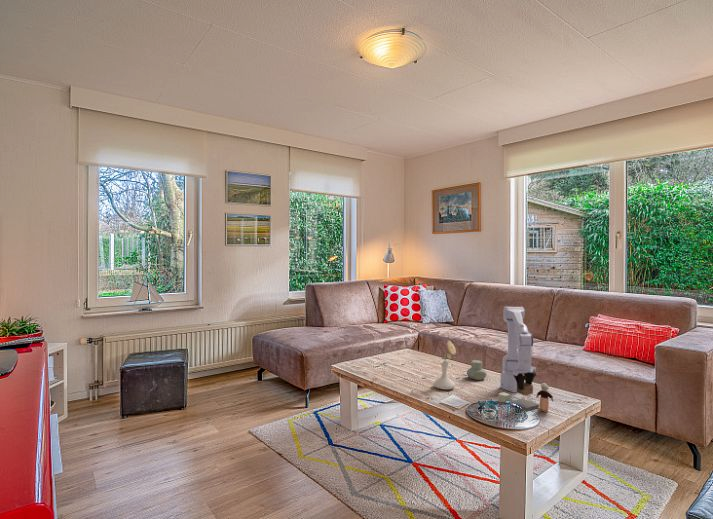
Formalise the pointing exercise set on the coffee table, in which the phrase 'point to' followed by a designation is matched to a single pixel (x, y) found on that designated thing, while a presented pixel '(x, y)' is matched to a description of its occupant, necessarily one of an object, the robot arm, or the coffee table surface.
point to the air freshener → (476, 370)
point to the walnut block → (526, 389)
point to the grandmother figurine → (544, 398)
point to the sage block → (503, 397)
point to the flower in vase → (445, 370)
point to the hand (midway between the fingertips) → (524, 388)
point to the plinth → (525, 404)
